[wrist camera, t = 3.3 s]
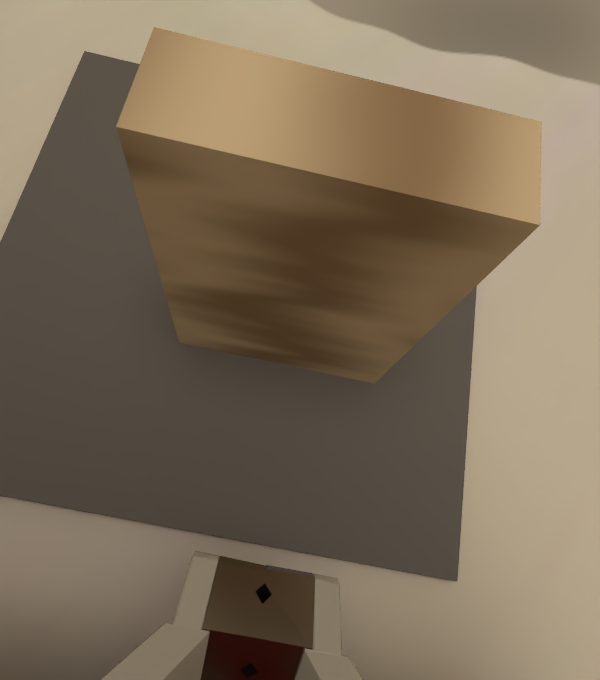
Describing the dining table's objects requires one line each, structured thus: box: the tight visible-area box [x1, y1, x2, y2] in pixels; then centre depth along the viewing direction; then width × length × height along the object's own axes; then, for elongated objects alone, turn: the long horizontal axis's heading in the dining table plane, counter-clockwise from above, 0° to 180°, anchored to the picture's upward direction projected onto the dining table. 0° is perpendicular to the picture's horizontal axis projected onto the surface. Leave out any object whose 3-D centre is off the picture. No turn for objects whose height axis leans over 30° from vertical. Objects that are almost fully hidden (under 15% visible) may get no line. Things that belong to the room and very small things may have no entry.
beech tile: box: [116, 27, 542, 384], centre depth 16 cm, size 8×2×12 cm, turn 80°
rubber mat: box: [0, 51, 477, 581], centre depth 22 cm, size 20×20×1 cm
